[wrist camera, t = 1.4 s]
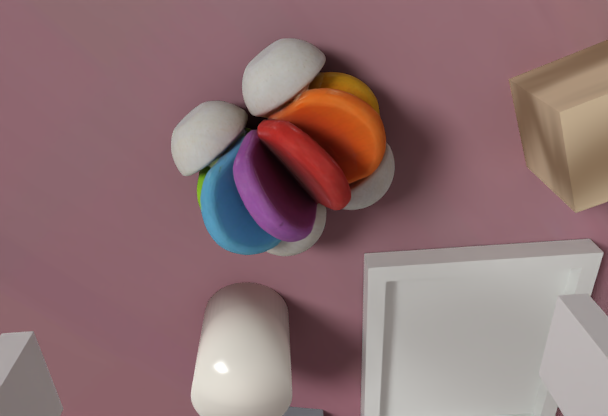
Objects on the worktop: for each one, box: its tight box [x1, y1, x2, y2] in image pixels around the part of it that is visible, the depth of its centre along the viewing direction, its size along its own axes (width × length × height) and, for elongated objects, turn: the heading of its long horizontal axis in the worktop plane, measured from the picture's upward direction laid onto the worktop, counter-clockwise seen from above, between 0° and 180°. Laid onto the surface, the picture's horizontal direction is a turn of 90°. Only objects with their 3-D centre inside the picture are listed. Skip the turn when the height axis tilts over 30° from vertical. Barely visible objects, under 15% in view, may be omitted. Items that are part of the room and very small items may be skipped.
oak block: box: [509, 40, 608, 213], centre depth 23 cm, size 5×5×5 cm
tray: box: [361, 239, 604, 416], centre depth 32 cm, size 15×13×1 cm
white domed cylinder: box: [191, 282, 292, 416], centre depth 28 cm, size 5×5×6 cm
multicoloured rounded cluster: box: [171, 38, 395, 256], centre depth 22 cm, size 8×10×7 cm
